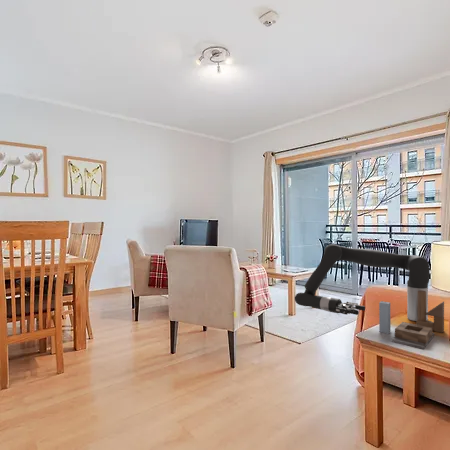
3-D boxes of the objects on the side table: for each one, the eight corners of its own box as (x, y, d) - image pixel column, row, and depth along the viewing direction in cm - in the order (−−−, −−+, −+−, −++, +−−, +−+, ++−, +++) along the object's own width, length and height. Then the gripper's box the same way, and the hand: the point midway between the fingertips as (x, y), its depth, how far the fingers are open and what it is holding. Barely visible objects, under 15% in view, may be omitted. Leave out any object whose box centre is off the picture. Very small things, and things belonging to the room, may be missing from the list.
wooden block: (442, 333, 147) (442, 294, 147) (416, 327, 155) (416, 291, 154) (444, 330, 150) (444, 293, 149) (418, 325, 158) (418, 289, 157)
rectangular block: (381, 329, 153) (381, 301, 153) (390, 331, 150) (390, 302, 150) (379, 331, 151) (379, 302, 150) (388, 333, 148) (388, 304, 148)
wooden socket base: (405, 328, 154) (405, 319, 153) (434, 335, 145) (434, 325, 145) (392, 341, 139) (392, 331, 139) (423, 349, 131) (423, 338, 131)
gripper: (324, 300, 164) (356, 306, 152) (336, 295, 174) (367, 300, 163) (324, 314, 164) (356, 321, 153) (336, 308, 174) (367, 314, 163)
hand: (361, 310), depth 158 cm, fingers open, 8 cm apart
